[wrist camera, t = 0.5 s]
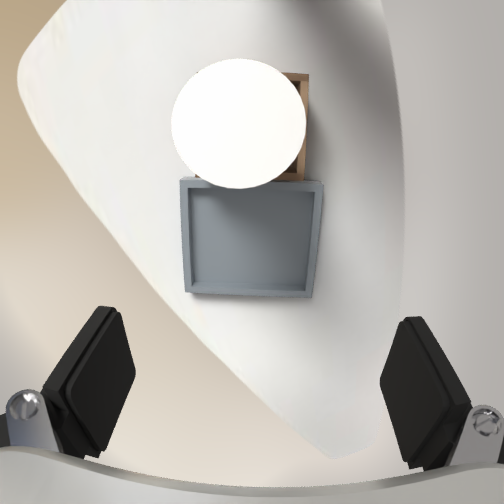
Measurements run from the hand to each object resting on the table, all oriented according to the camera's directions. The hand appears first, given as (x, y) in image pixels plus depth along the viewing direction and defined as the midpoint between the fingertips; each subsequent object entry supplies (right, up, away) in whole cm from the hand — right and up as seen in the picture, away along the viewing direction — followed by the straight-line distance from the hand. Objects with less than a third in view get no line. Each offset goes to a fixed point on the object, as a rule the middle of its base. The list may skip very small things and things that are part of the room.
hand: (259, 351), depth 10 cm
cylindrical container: (0, +19, +29) cm, 35 cm away
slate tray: (0, +5, +35) cm, 35 cm away
